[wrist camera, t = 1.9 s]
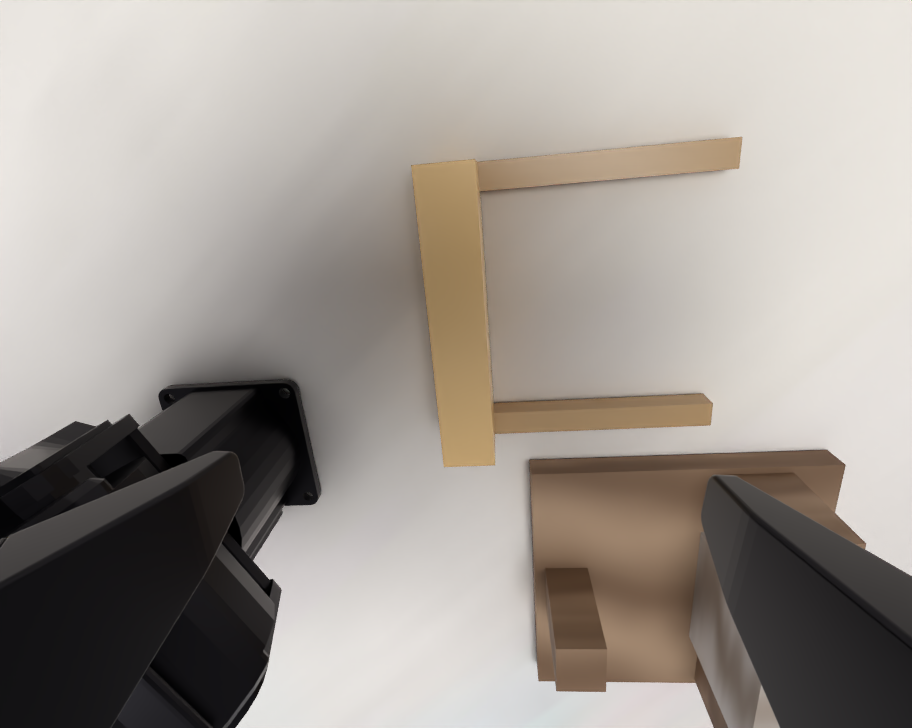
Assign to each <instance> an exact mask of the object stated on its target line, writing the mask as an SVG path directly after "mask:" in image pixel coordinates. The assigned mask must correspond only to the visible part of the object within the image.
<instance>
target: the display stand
mask: <svg viewBox="0 0 912 728" xmlns="http://www.w3.org/2000/svg"><path fill="white" fill-rule="evenodd" d="M529 461H530V488H531V516H532V543H533V570H534V597H535V625H536V652H537V668H538V679H539V681H555V683H556V691H578V692H606V682H667V683H696V684H697V687H698V689H699V692H700V694H701V697H702V699H703V702H704V704H705V707H706V709H707V712H708V714H709V717H710V719H711V722H712V724H713V727H714V728H780V727H779V724H778V722H777V720H776V718H775V715H774V713H773V711H772V708H771V706H770V704H769V701H768V699H767V697H766V694H765V692H764V690H763V688H762V685H761V683H760V681H759V678H758V676H757V674H756V671H755V669H754V667H753V665H752V662H751V660H750V658H749V655H748V653H747V651H746V648H745V646H744V644H743V642H742V639H741V637H740V635H739V632H738V630H737V628H736V625H735V623H734V621H733V618H732V616H731V614H730V611H729V609H728V606H727V604H726V601H725V598H724V595H723V592H722V589H721V585H720V582H719V579H718V576H717V572H716V569H715V566H714V563H713V559H712V556H711V553H710V550H709V546H708V543H707V540H706V537H705V533H704V530H703V527H702V522H701V511H702V506H703V501H704V496H705V492H706V487H707V483H708V480H709V478H710V477H711V476H712V475H733V476H737V477H739V478H741V479H742V480H744V481H746V482H748V483H749V484H751V485H753V486H755V487H756V488H758V489H760V490H762V491H763V492H765V493H767V494H769V495H770V496H772V497H774V498H776V499H777V500H779V501H781V502H783V503H784V504H786V505H788V506H790V507H791V508H793V509H795V510H797V511H798V512H800V513H802V514H804V515H805V516H807V517H809V518H811V519H812V520H814V521H816V522H818V523H819V524H821V525H823V526H825V527H826V528H828V529H830V530H832V531H833V532H835V533H837V534H839V535H840V536H842V537H844V538H846V539H847V540H849V541H851V542H853V543H854V544H856V545H858V546H860V547H861V548H863V549H865V547H866V543H865V542H864V541H863V540H862V539H861V538H860V537H859V536H858V535H857V534H856V533H855V532H854V531H853V530H852V529H851V528H850V527H849V526H848V525H847V524H846V523H845V522H844V521H843V520H841V519H840V518H839V517H838V516H837V515H836V514H835V509H836V505H837V500H838V496H839V492H840V487H841V483H842V479H843V474H844V470H845V464H844V463H843V462H841V461H840V460H839V459H838V458H836V457H835V456H834V455H833V454H831V453H830V452H829V451H828V450H812V451H782V452H752V453H723V454H693V455H663V456H634V457H604V458H574V459H545V460H529Z"/></svg>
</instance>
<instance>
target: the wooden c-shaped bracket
mask: <svg viewBox="0 0 912 728" xmlns="http://www.w3.org/2000/svg"><path fill="white" fill-rule="evenodd" d="M741 145H742V137H735V138H724V139H714V140H703V141H693V142H682V143H672V144H661V145H650V146H640V147H629V148H619V149H608V150H597V151H587V152H576V153H566V154H555V155H545V156H534V157H523V158H513V159H502V160H492V161H481V162H477V161H476V160H475V159H471V160H461V161H450V162H440V163H429V164H419V165H411V168H412V178H413V187H414V196H415V205H416V214H417V224H418V233H419V242H420V251H421V260H422V270H423V279H424V288H425V297H426V306H427V316H428V325H429V334H430V343H431V352H432V362H433V371H434V380H435V389H436V398H437V408H438V417H439V426H440V435H441V444H442V454H443V463H444V467H457V466H488V465H495V434H502V433H527V432H553V431H578V430H604V429H629V428H655V427H681V426H706V425H711V416H712V407H713V403H712V402H711V401H710V400H709V399H708V398H707V397H706V396H705V395H704V394H685V395H663V396H641V397H619V398H596V399H574V400H552V401H530V402H508V403H494V402H493V386H492V370H491V355H490V339H489V323H488V308H487V292H486V276H485V260H484V245H483V229H482V213H481V198H480V191H490V190H501V189H513V188H524V187H535V186H547V185H558V184H569V183H581V182H592V181H603V180H614V179H626V178H637V177H648V176H660V175H671V174H682V173H694V172H705V171H716V170H727V169H739V163H740V154H741Z"/></svg>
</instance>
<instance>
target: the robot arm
mask: <svg viewBox="0 0 912 728" xmlns="http://www.w3.org/2000/svg"><path fill="white" fill-rule="evenodd" d="M283 388H286V389H288V390H289V392H290V395H288V394H285V393H284V392H283ZM169 394H171V395H172V396H173V397H174V399H175V400H173V399H172V398H171V397H170V396H169ZM159 401H160V404H161V407H162V410H163V412H161V413H160V414H158V415H157V416H155V417H154V418H153V419H151V420H150V421H148V422H147V423H145V424H144V425H143V426H141V427H140V428H138V427H139V424H138V423H137V422H136V421H135V420H134V419H133V417H132V416H131V415H130V414H128V415H127V416H125V417H123V418H122V419H120V420H118V421H117V422H115V423H113V424H111V423H110V422H109V420H107V421H105V422H103V423H102V424H100V425H98V426H97V427H96V426H92V425H88V424H84V423H80V422H77V421H75V422H73V423H72V424H70V425H68V426H66V427H65V428H63V429H61V430H59V431H58V432H56V433H54V434H53V435H51V436H49V437H47V438H46V439H44V440H42V441H40V442H39V443H37V444H35V445H33V446H31V447H30V448H28V449H26V450H24V451H22V452H20V453H18V454H16V455H14V456H12V457H10V458H8V459H6V460H5V461H3V462H1V463H0V728H236V726H237V725H238V723H239V722H240V721H241V719H242V718H243V717H244V715H245V714H246V713H247V711H248V710H249V708H250V706H251V705H252V703H253V701H254V700H255V698H256V697H257V694H258V692H259V690H260V688H261V686H262V684H263V681H264V678H265V674H266V671H267V667H268V662H269V655H270V650H271V645H272V639H273V634H274V628H275V623H276V617H277V612H278V606H279V601H280V595H281V588H280V587H279V586H278V585H277V583H276V582H275V581H274V580H273V579H270V580H269V579H268V578H267V576H266V575H265V574H264V573H263V572H262V571H261V570H260V568H259V567H258V566H257V565H256V564H255V563H254V562H253V560H254V558H255V556H256V555H257V553H258V552H259V550H260V548H261V547H262V545H263V544H264V542H265V541H266V539H267V537H268V536H269V534H270V533H271V531H272V529H273V528H274V526H275V525H276V523H277V522H278V520H279V518H280V517H281V515H282V513H283V512H282V508H283V507H284V506H290V505H312V504H315V503H316V502H317V500H318V498H319V497H320V495H321V490H320V486H319V481H318V476H317V472H316V467H315V463H314V458H313V453H312V449H311V444H310V439H309V435H308V430H307V426H306V421H305V416H304V412H303V407H302V402H301V398H300V393H299V389H298V386H297V385H296V384H295V383H294V382H293V381H291V380H287V379H284V380H265V381H246V382H227V383H207V384H188V385H171V386H168V387H166V388H164V389H163V390H162V391H160V393H159ZM306 492H310V493H311V494H312V495H313V496H310V495H308V494H307V493H306ZM701 522H702V527H703V530H704V533H705V537H706V540H707V543H708V546H709V550H710V553H711V556H712V559H713V563H714V566H715V569H716V572H717V576H718V579H719V582H720V585H721V589H722V592H723V595H724V598H725V601H726V604H727V606H728V609H729V611H730V614H731V616H732V618H733V621H734V623H735V625H736V628H737V630H738V632H739V635H740V637H741V639H742V642H743V644H744V646H745V648H746V651H747V653H748V655H749V658H750V660H751V662H752V665H753V667H754V669H755V671H756V674H757V676H758V678H759V681H760V683H761V685H762V688H763V690H764V692H765V694H766V697H767V699H768V701H769V704H770V706H771V708H772V711H773V713H774V715H775V718H776V720H777V722H778V724H779V727H780V728H912V576H910V575H909V574H907V573H905V572H903V571H902V570H900V569H898V568H896V567H895V566H893V565H891V564H889V563H888V562H886V561H884V560H882V559H881V558H879V557H877V556H875V555H874V554H872V553H870V552H868V551H867V550H865V549H863V548H861V547H860V546H858V545H856V544H854V543H853V542H851V541H849V540H847V539H846V538H844V537H842V536H840V535H839V534H837V533H835V532H833V531H832V530H830V529H828V528H826V527H825V526H823V525H821V524H819V523H818V522H816V521H814V520H812V519H811V518H809V517H807V516H805V515H804V514H802V513H800V512H798V511H797V510H795V509H793V508H791V507H790V506H788V505H786V504H784V503H783V502H781V501H779V500H777V499H776V498H774V497H772V496H770V495H769V494H767V493H765V492H763V491H762V490H760V489H758V488H756V487H755V486H753V485H751V484H749V483H748V482H746V481H744V480H742V479H741V478H739V477H737V476H733V475H712V476H711V477H710V478H709V480H708V483H707V487H706V492H705V496H704V501H703V506H702V511H701Z"/></svg>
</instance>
